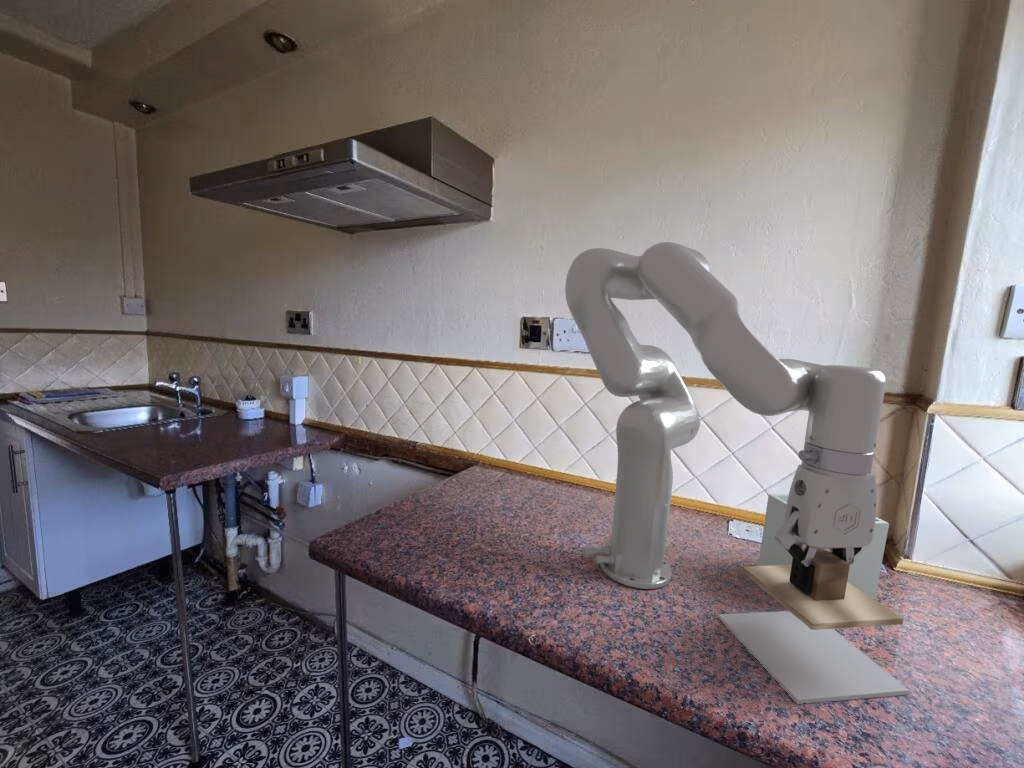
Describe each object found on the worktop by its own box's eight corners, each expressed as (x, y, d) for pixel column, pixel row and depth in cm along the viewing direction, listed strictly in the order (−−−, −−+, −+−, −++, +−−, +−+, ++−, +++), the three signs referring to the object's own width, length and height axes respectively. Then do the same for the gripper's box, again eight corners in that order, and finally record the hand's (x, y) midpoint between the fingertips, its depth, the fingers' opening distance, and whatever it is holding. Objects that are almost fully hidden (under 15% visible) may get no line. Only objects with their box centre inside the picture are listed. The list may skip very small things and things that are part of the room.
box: (808, 611, 74) (823, 524, 72) (757, 570, 86) (768, 494, 83) (873, 608, 76) (889, 523, 74) (814, 568, 88) (826, 494, 85)
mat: (797, 704, 55) (797, 699, 55) (718, 618, 71) (718, 614, 71) (908, 694, 58) (909, 690, 58) (808, 613, 73) (809, 609, 73)
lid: (810, 637, 55) (818, 585, 54) (741, 577, 68) (747, 534, 67) (901, 631, 57) (910, 581, 57) (817, 574, 70) (824, 533, 69)
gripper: (802, 468, 55) (781, 607, 58) (919, 468, 58) (895, 601, 60) (759, 450, 62) (743, 574, 65) (865, 451, 65) (845, 570, 68)
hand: (816, 586), depth 63 cm, fingers closed on lid, 4 cm apart
